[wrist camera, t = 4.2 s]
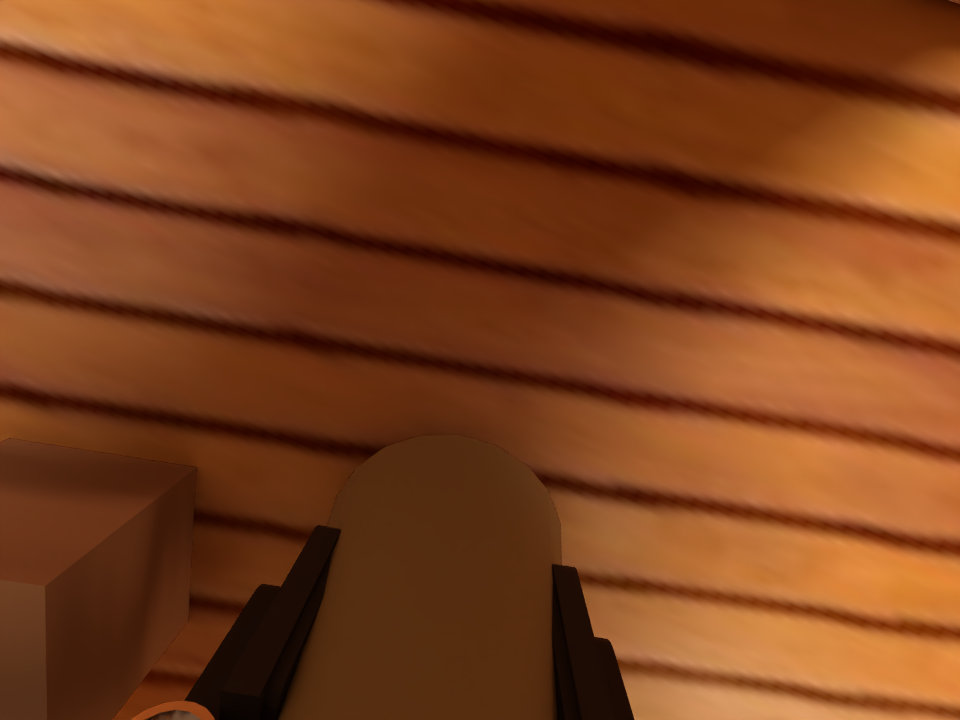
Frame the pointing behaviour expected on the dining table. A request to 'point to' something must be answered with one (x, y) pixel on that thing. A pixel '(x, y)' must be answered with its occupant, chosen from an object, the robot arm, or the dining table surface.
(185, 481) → the walnut block
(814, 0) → the dining table surface
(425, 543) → the cork
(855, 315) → the dining table surface
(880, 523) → the dining table surface
